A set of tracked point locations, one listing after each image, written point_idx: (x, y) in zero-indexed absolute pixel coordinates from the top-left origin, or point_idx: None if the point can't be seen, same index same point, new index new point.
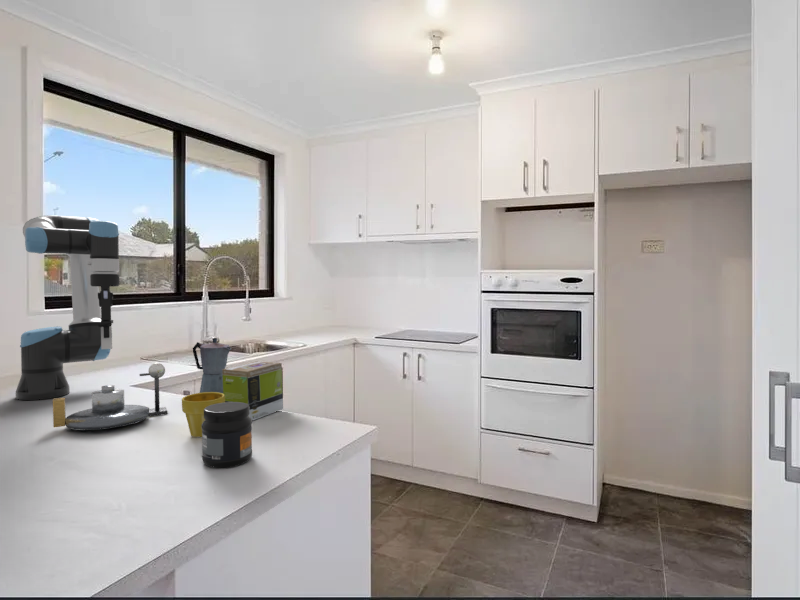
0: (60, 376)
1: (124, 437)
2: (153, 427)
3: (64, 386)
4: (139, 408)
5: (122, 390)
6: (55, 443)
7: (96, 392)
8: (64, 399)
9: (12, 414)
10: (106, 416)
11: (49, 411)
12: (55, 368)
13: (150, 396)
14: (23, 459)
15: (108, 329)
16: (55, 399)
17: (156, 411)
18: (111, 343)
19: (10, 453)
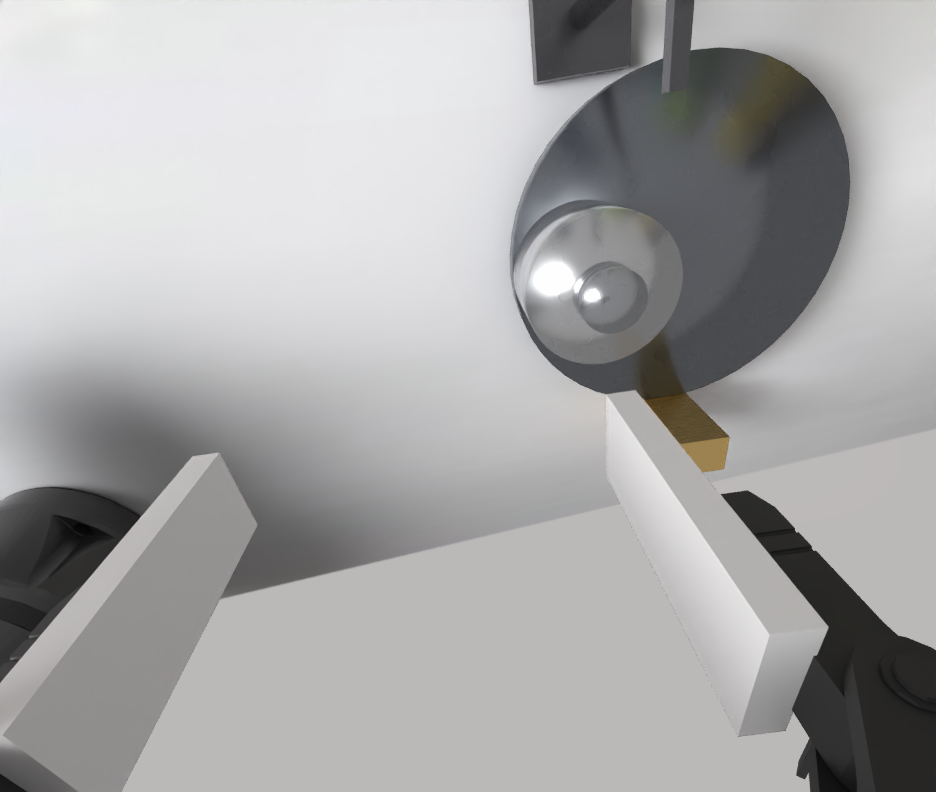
0: (19, 566)
1: (915, 152)
2: (854, 23)
3: (53, 519)
4: (651, 112)
5: (610, 218)
6: (804, 371)
7: (593, 346)
8: (720, 437)
9: (367, 553)
10: (723, 257)
11: (358, 477)
12: (6, 615)
13: (121, 99)
14: (904, 410)
15: (856, 605)
16: (699, 466)
17: (616, 17)
18: (661, 426)
19: (818, 450)
